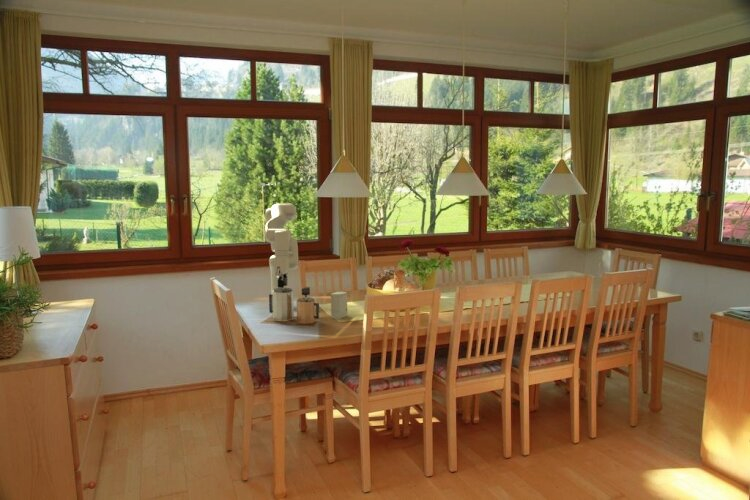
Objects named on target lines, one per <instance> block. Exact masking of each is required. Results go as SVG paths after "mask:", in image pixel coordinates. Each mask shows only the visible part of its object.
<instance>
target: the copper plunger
mask: <svg viewBox="0 0 750 500" xmlns="http://www.w3.org/2000/svg"><path fill="white" fill-rule="evenodd" d="M301 295H302V296H304V298H305V300H307V297H308V296H309V295H311V287H309V286H303V287H301Z"/></svg>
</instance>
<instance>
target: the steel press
mask: <svg viewBox="0 0 750 500" xmlns="http://www.w3.org/2000/svg"><path fill="white" fill-rule="evenodd" d="M272 302H273V308H272ZM268 307H269V314H272V315H273V320H274V321H277V322H288V321H292V320H293V318H294V316H295V315H294V312H295V311H294V310H295V309H294V308H295V307H294V290H293V289H292V288H290V287H287V288H284V290H282V288H276V289H273V291H272V294H271V293H269V294H268Z"/></svg>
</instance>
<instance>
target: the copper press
mask: <svg viewBox="0 0 750 500" xmlns="http://www.w3.org/2000/svg"><path fill="white" fill-rule="evenodd" d="M296 316H297V323H299V324H312V323H315V318H316V319H318V318H320V303H319V302H316V299H315V298H314V297H309V296H307V300H305V296H304V297H303V296H302V297H298V298H297V299H296Z"/></svg>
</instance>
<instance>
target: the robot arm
mask: <svg viewBox="0 0 750 500" xmlns="http://www.w3.org/2000/svg"><path fill="white" fill-rule="evenodd" d="M296 208H297V207H296V205H295V204H293V203H285V202H284V203H282V202H281V203H274V204H273V205H272V206H271V207H269V208H267V209H266V210H265V219H266V224H265V226H264V238H265V241H266V242H267V243H270V249H271V251H272V253H274V254H273V255H271V256H270V257H269V260H268V265H269V269H270V270H269V271H270V294H272V291H273V289H276V288H283V287H284V288H288V284H287V285H284V280H283V277H285V278H287V279H288V274H289V271H291V270H292V271H293V270H297V269H298V268H299V247H298V240H297V238H296V237H294V236H292V232H291V230H290V229H289V228H284V227H285V226H286V224H287V223H288V222H293V221H294V220H295V218H296V216H297V209H296ZM272 309H273V302H272Z"/></svg>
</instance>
